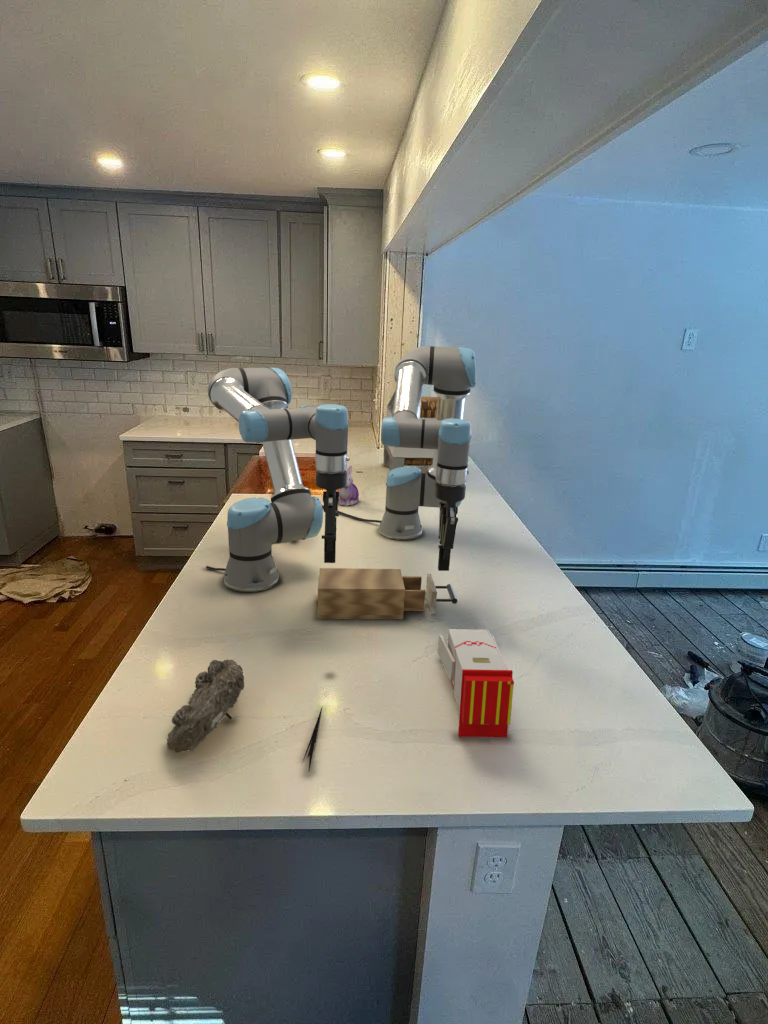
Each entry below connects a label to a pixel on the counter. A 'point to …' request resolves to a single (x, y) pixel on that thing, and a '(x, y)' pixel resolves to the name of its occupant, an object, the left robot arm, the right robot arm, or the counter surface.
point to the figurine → (348, 491)
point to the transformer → (411, 455)
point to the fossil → (206, 705)
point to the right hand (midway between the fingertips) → (443, 569)
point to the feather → (313, 740)
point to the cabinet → (360, 593)
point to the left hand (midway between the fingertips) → (330, 551)
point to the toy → (478, 682)
